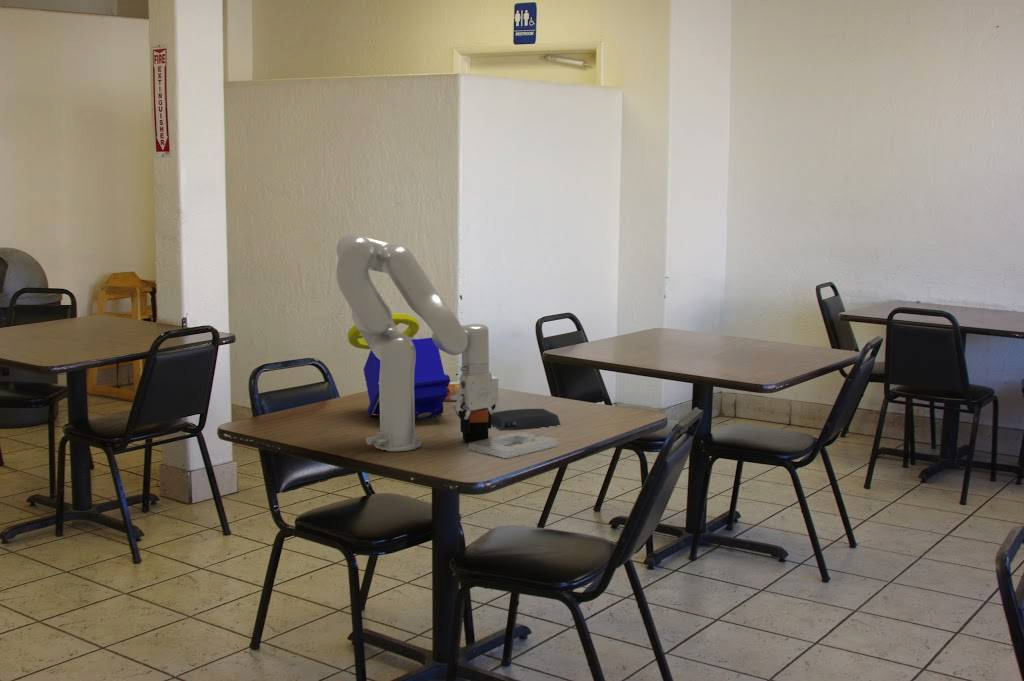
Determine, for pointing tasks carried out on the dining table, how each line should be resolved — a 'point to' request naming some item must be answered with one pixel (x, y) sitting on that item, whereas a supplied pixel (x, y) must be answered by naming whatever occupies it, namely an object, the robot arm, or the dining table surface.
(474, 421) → the battery
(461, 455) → the dining table surface
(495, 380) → the skincare box
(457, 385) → the snack package
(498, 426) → the external hard drive
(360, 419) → the dining table surface
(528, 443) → the plate
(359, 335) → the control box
